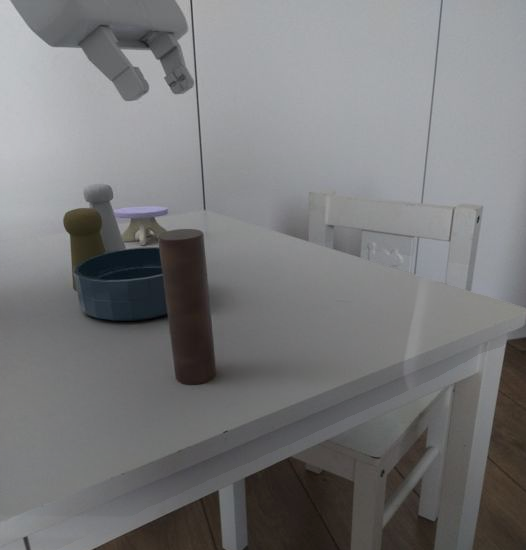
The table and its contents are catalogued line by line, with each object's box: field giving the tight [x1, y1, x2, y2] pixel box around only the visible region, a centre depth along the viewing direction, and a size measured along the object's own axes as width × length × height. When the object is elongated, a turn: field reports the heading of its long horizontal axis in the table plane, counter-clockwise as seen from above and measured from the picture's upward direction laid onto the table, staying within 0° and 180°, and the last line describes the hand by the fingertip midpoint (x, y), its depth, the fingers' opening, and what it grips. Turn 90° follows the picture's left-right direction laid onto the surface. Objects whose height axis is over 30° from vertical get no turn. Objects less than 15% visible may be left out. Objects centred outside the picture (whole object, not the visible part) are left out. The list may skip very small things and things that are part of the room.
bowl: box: [73, 246, 168, 322], centre depth 75 cm, size 15×15×6 cm
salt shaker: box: [82, 183, 127, 252], centre depth 88 cm, size 6×6×13 cm
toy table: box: [113, 205, 169, 247], centre depth 106 cm, size 10×9×6 cm
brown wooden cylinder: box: [157, 228, 217, 386], centre depth 53 cm, size 4×4×14 cm
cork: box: [62, 207, 106, 291], centre depth 81 cm, size 6×6×11 cm
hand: (164, 93), depth 46 cm, fingers open, 8 cm apart
